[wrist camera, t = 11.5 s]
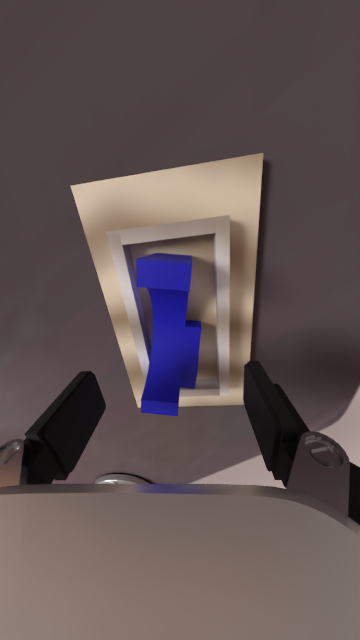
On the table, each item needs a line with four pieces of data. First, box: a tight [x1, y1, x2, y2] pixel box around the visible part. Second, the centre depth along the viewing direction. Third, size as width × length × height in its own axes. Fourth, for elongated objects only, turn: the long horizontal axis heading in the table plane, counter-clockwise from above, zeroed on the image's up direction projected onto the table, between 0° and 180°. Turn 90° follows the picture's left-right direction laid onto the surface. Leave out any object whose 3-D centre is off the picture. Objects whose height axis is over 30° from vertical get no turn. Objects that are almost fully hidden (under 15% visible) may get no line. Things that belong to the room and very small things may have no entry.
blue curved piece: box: [136, 253, 202, 416], centre depth 14 cm, size 12×4×6 cm, turn 176°
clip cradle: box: [71, 153, 263, 408], centre depth 17 cm, size 24×14×2 cm, turn 7°
